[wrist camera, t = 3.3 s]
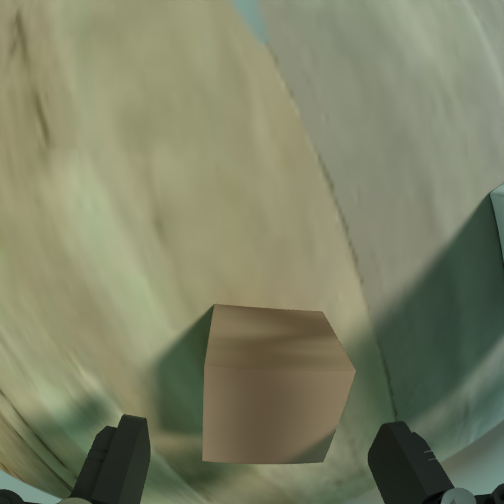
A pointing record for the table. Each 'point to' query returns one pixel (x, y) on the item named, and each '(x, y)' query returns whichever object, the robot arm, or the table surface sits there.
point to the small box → (499, 211)
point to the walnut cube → (272, 386)
